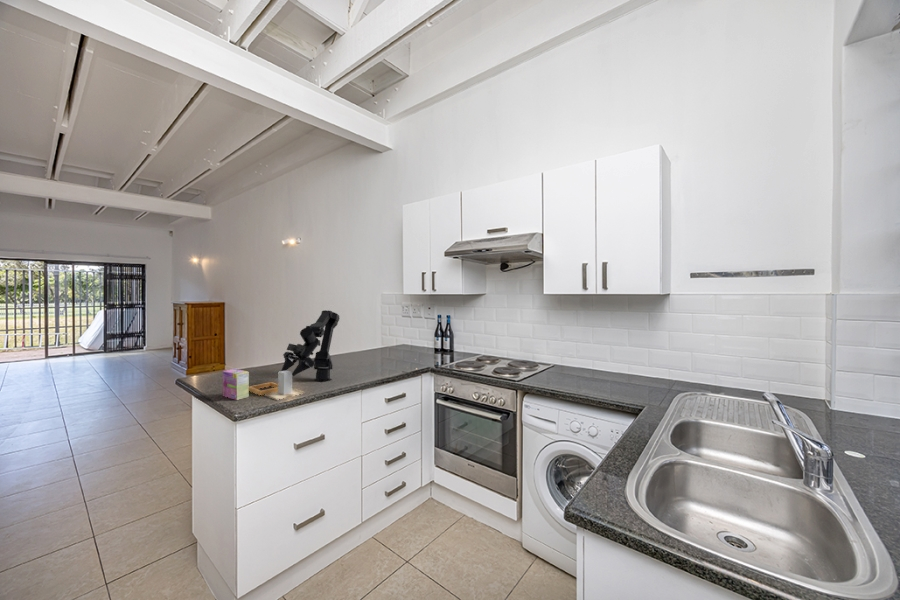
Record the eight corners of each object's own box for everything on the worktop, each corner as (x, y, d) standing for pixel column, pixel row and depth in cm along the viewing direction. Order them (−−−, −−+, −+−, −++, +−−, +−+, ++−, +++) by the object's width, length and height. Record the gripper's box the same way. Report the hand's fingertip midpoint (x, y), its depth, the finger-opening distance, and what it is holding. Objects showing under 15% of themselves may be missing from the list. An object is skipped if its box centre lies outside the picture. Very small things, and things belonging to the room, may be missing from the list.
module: (285, 391, 174) (286, 370, 173) (291, 393, 171) (292, 371, 171) (277, 392, 170) (278, 371, 170) (283, 394, 168) (284, 373, 167)
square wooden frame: (271, 385, 185) (271, 381, 185) (284, 390, 178) (284, 386, 178) (247, 390, 175) (247, 386, 175) (260, 395, 168) (260, 391, 168)
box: (222, 396, 165) (222, 370, 165) (234, 393, 170) (235, 368, 170) (236, 400, 160) (236, 373, 160) (248, 397, 165) (249, 371, 165)
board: (292, 389, 179) (292, 388, 179) (304, 393, 174) (304, 391, 173) (264, 395, 168) (264, 394, 168) (276, 400, 162) (276, 398, 162)
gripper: (287, 335, 180) (264, 360, 172) (309, 339, 170) (286, 366, 161) (301, 349, 187) (280, 374, 178) (323, 353, 176) (302, 380, 168)
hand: (287, 373), depth 171 cm, fingers open, 9 cm apart
